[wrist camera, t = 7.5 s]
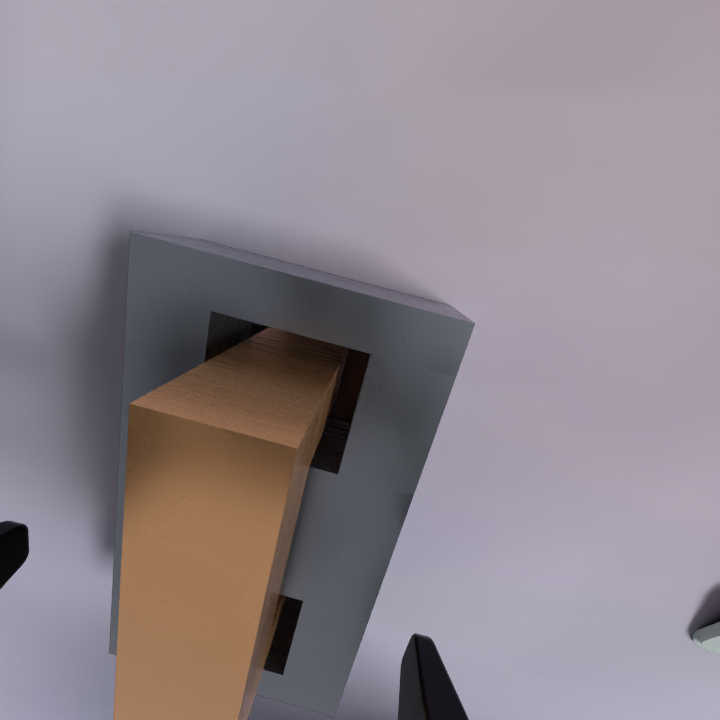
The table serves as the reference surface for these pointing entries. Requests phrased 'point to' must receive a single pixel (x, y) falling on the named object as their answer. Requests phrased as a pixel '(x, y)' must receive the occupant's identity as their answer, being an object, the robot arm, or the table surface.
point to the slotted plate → (338, 441)
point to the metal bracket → (708, 638)
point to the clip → (215, 523)
